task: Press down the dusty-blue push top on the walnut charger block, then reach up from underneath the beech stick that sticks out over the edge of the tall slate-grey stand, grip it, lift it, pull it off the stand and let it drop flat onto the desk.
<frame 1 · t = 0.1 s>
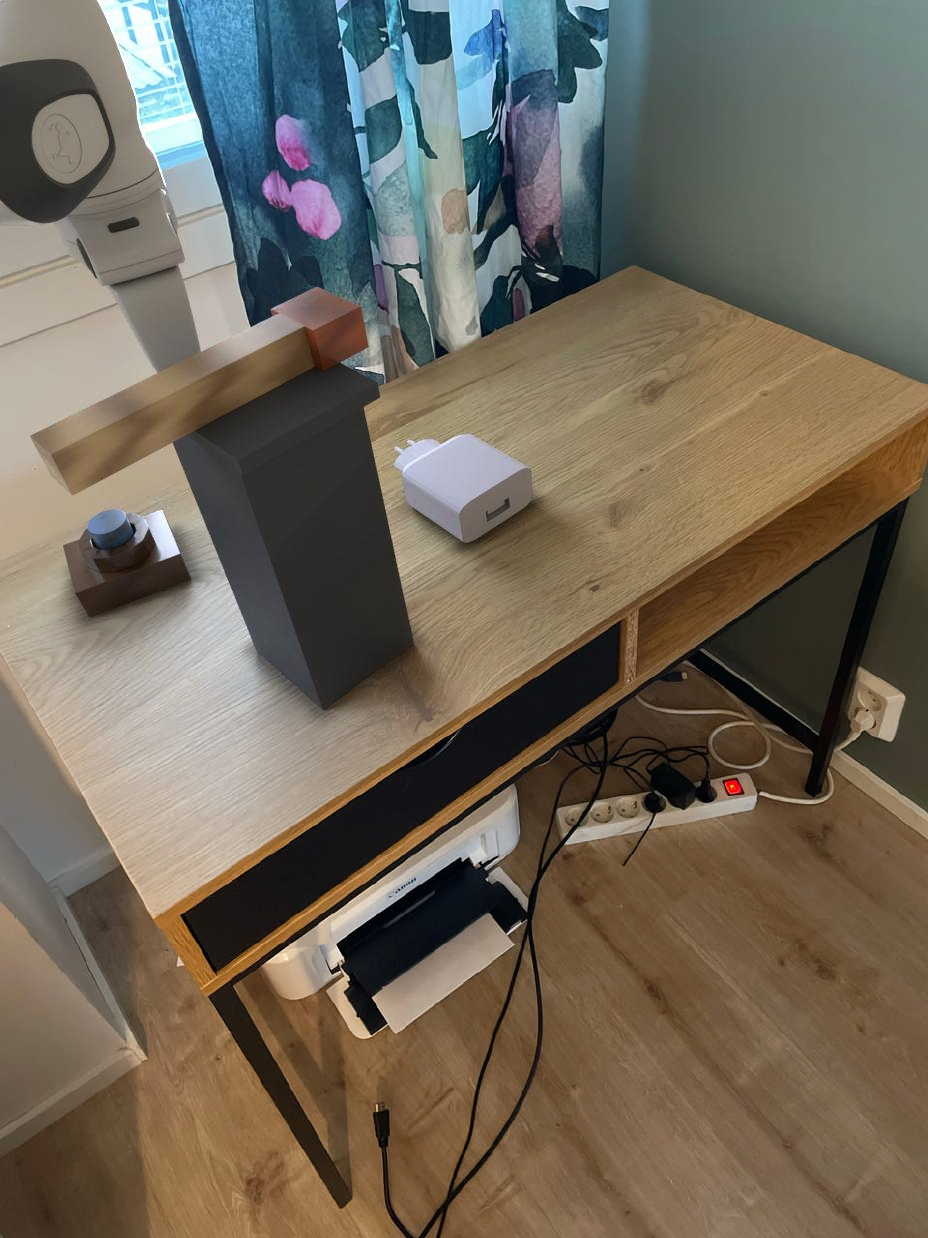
hand: (174, 374, 79), 18 cm above the table, tool pointing down, fingers open, 8 cm apart
stand: (334, 646, 78), on the table
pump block: (132, 573, 88), on the table
plunger: (110, 529, 84), point 6 cm above the table, slide at 0.1 cm
charger: (450, 494, 92), on the table
stick: (215, 405, 59), point 26 cm above the table, touching stand
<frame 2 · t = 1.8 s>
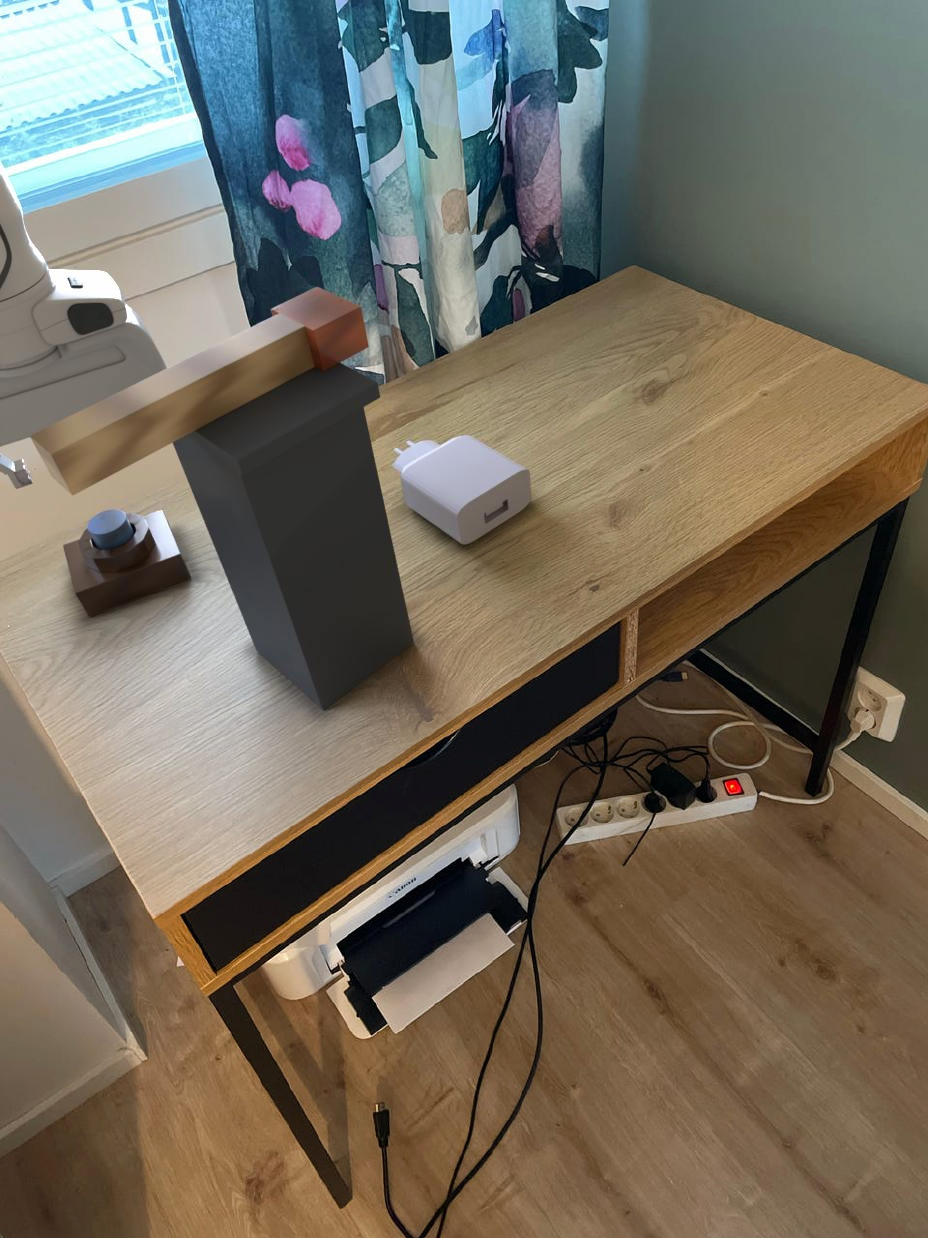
hand: (78, 464, 79), 13 cm above the table, tool pointing down, fingers open, 8 cm apart
nothing on the table moved.
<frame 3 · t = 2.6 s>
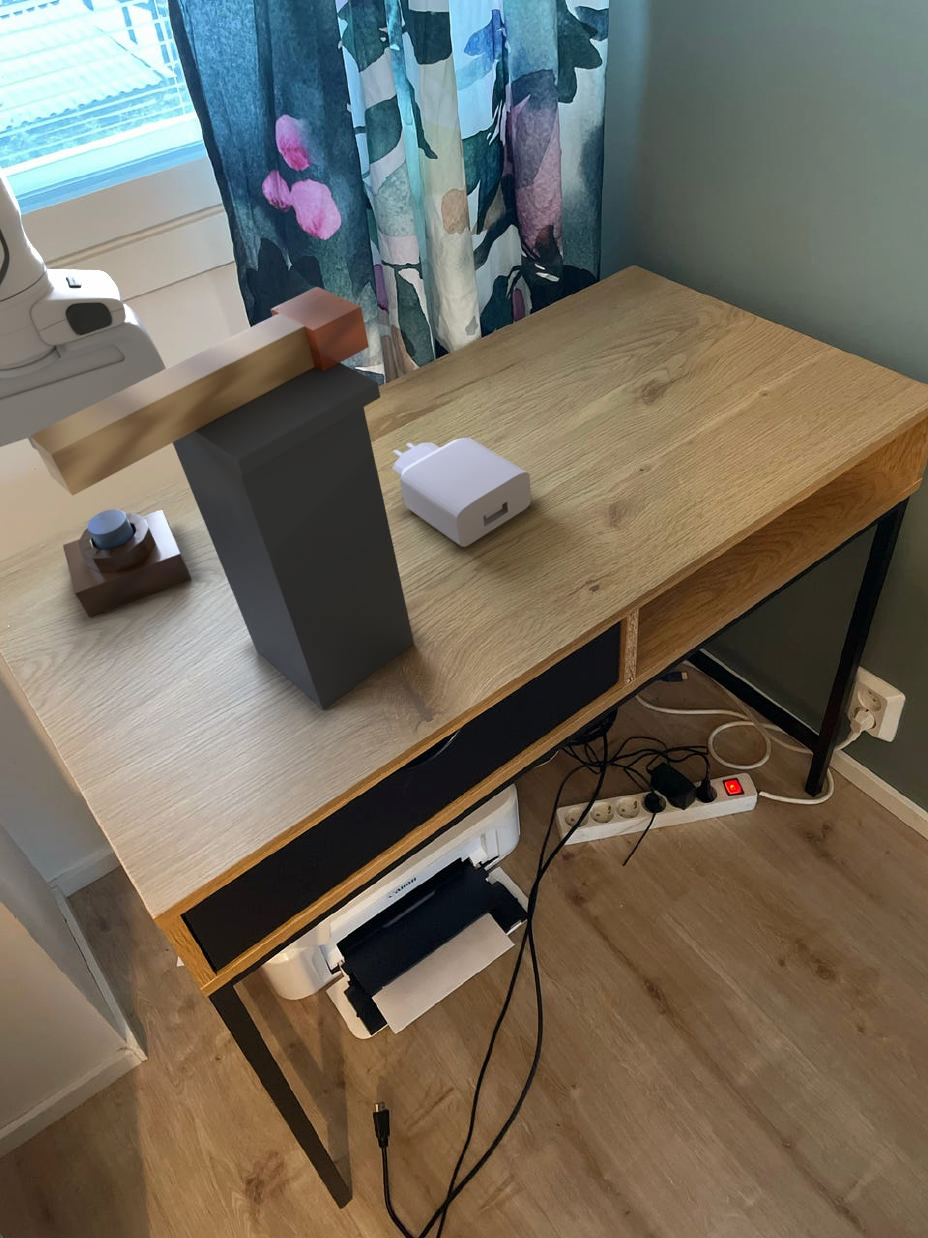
hand: (78, 465, 79), 13 cm above the table, tool pointing down, fingers closed
nothing on the table moved.
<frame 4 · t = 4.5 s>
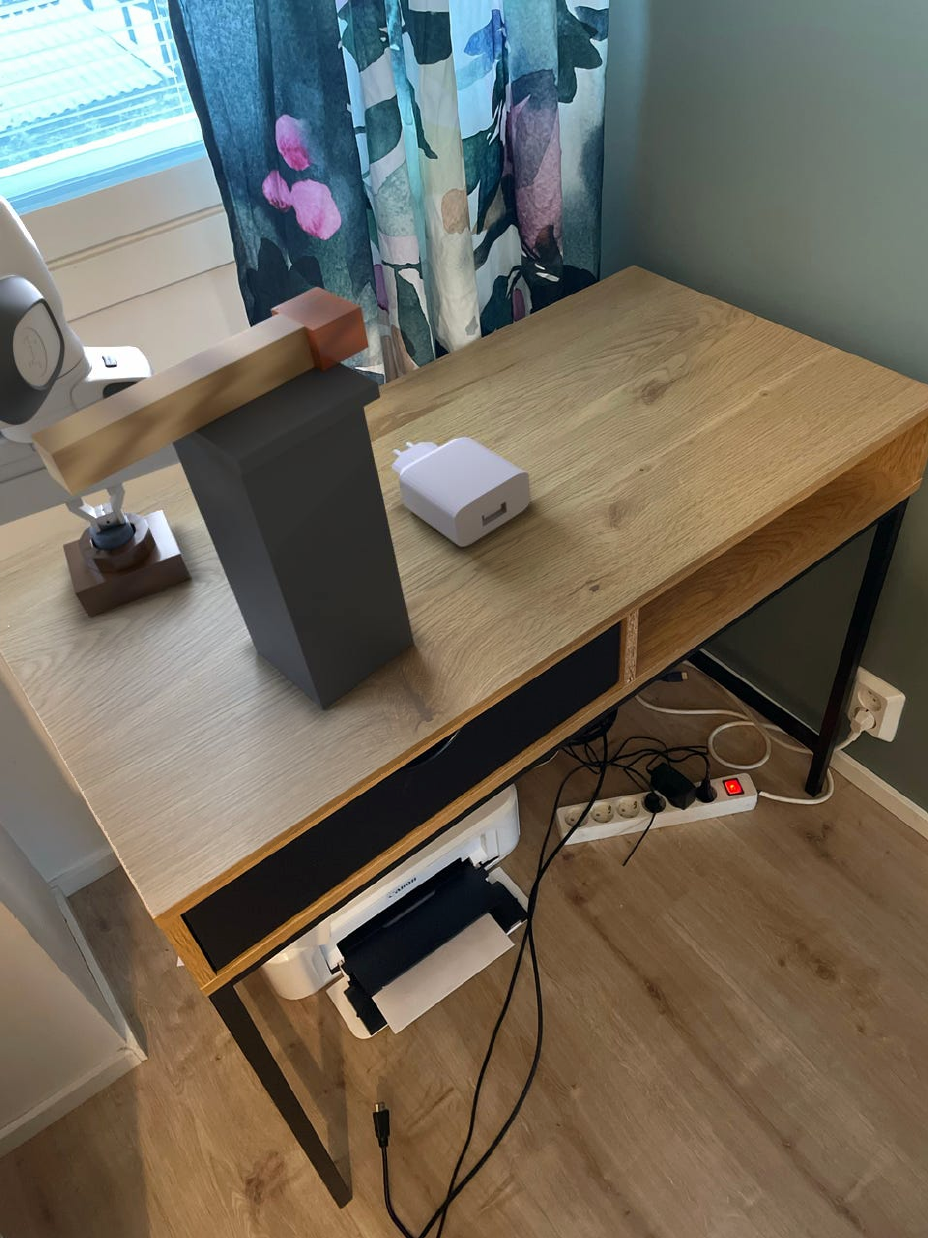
hand: (110, 524, 84), 6 cm above the table, tool pointing down, fingers closed, pressing on plunger
plunger: (112, 533, 84), point 5 cm above the table, slide at -0.3 cm, touching gripper
everything else where it was.
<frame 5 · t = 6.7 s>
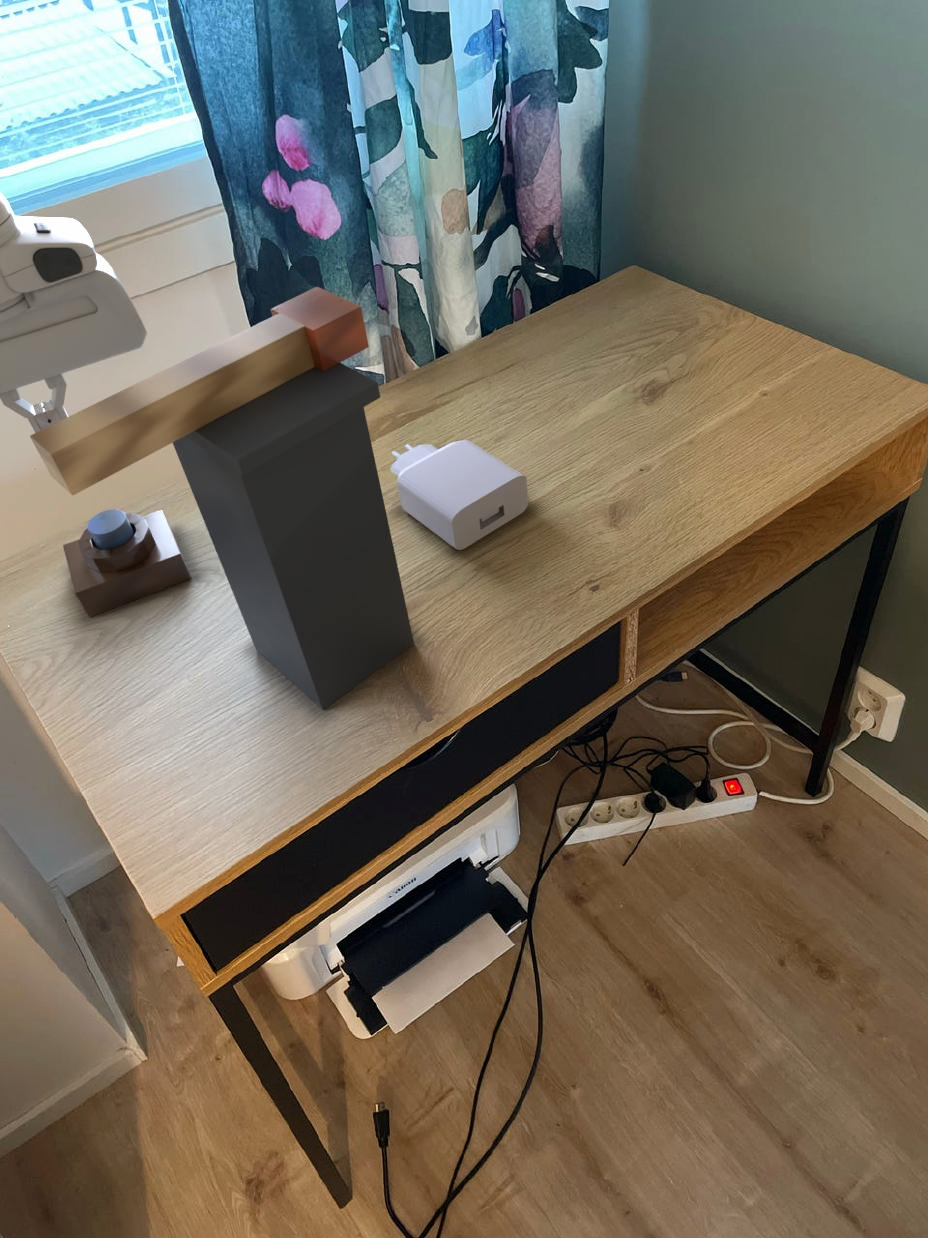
hand: (52, 425, 76), 17 cm above the table, tool pointing down, fingers closed
plunger: (110, 529, 84), point 6 cm above the table, slide at 0.1 cm
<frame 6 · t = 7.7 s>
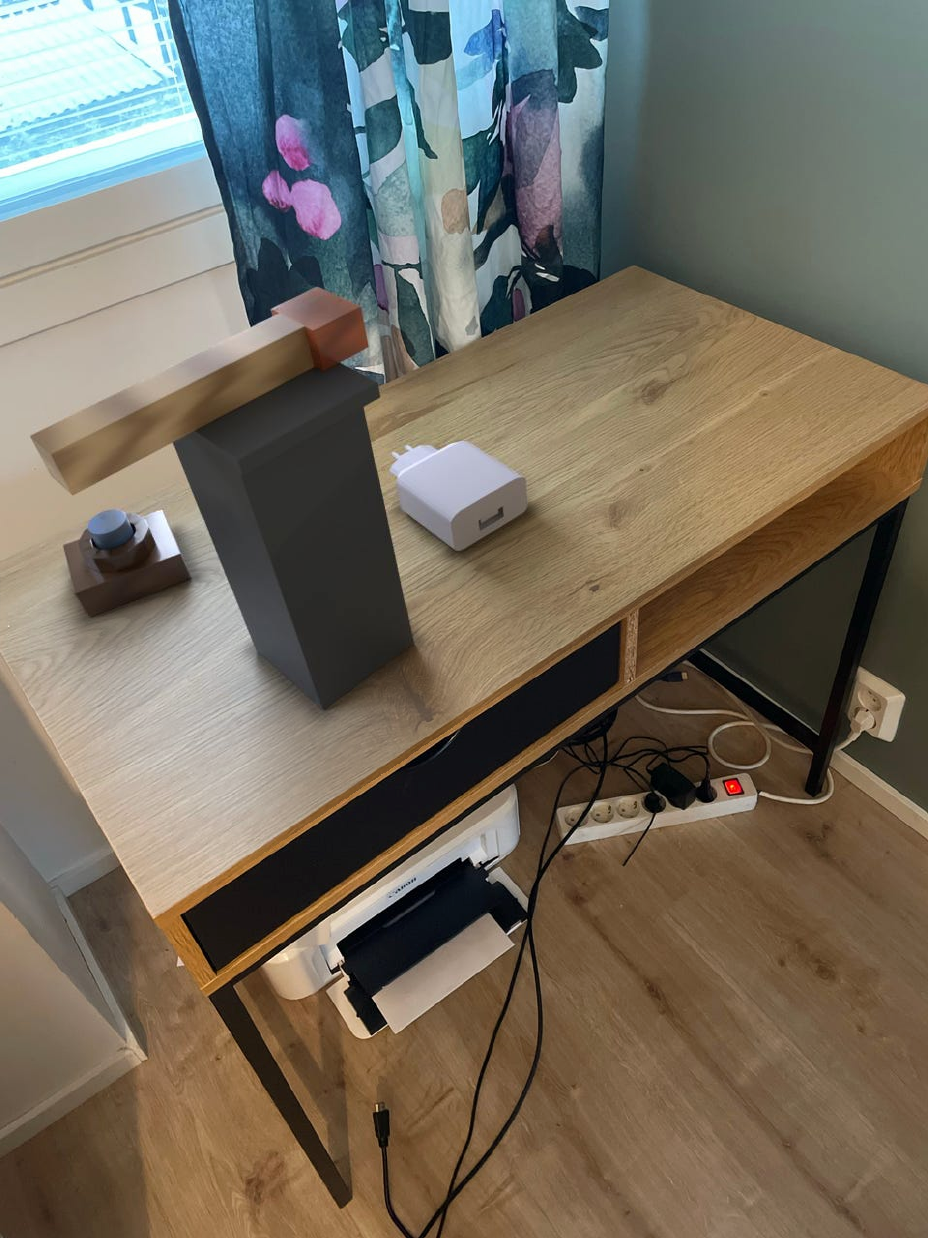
nothing on the table moved.
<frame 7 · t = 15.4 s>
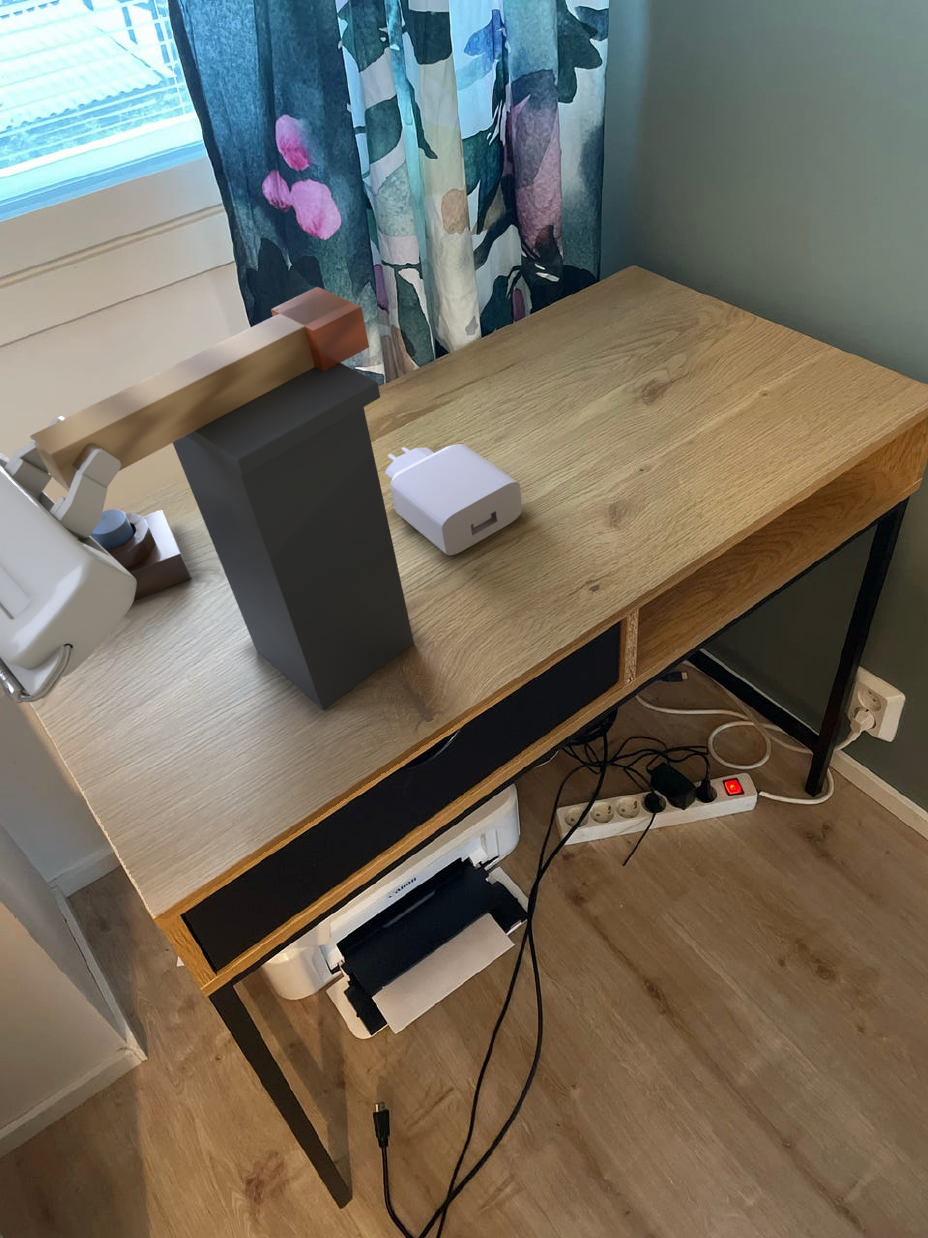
hand: (90, 437, 54), 28 cm above the table, tool pointing upward, fingers closed on stick, 3 cm apart
stick: (216, 405, 59), point 26 cm above the table, touching gripper, stand
when the fingers open (15 cm above the table, at t = 25.2 s): stick drops 13 cm, on the table.
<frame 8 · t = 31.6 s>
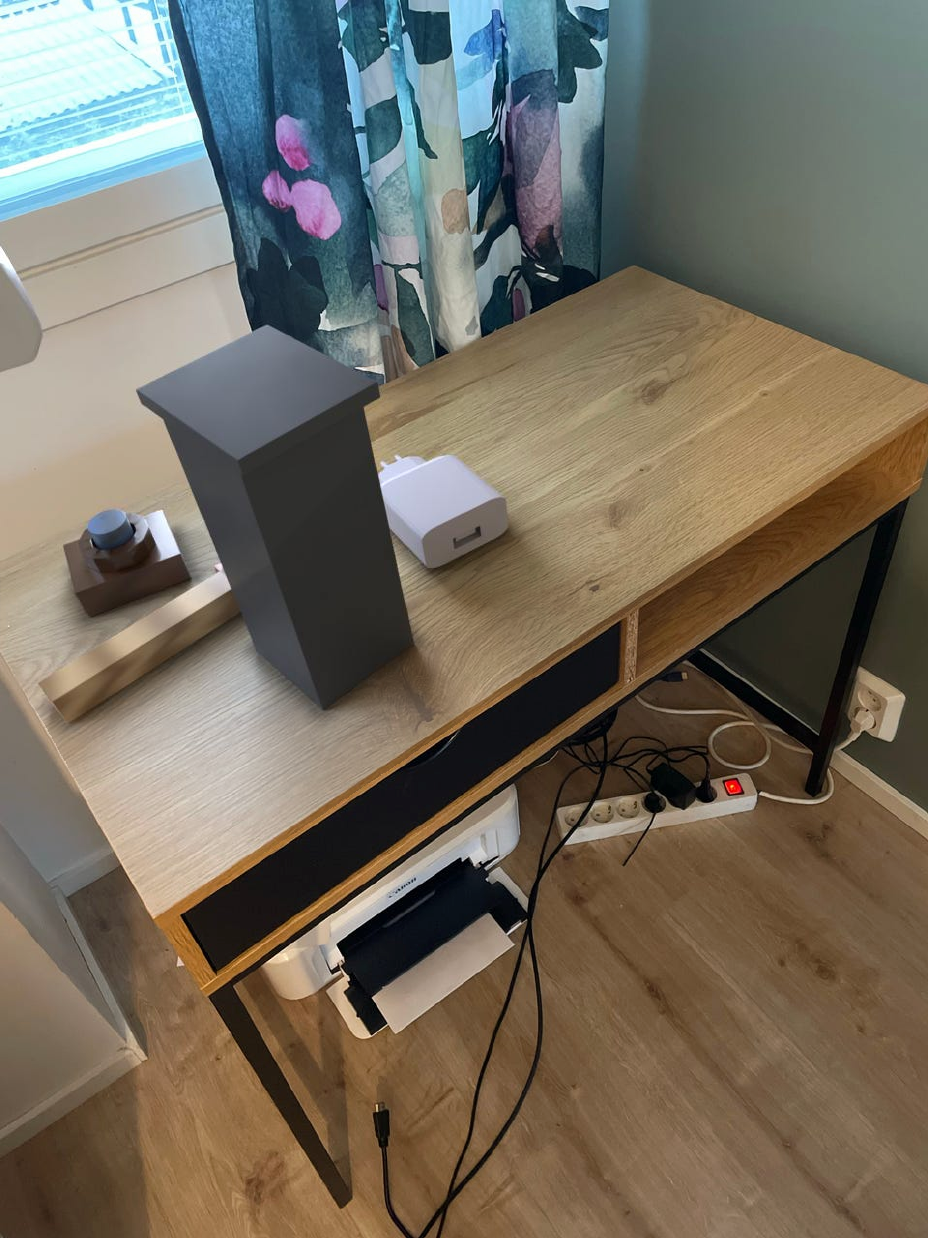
charger: (429, 514, 90), on the table
stick: (172, 643, 81), on the table
everything else where it was.
at the end: plunger pushed in 1.1 cm at the most during the clip, back to where it started at the end; stick on the table; stick touching table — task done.
